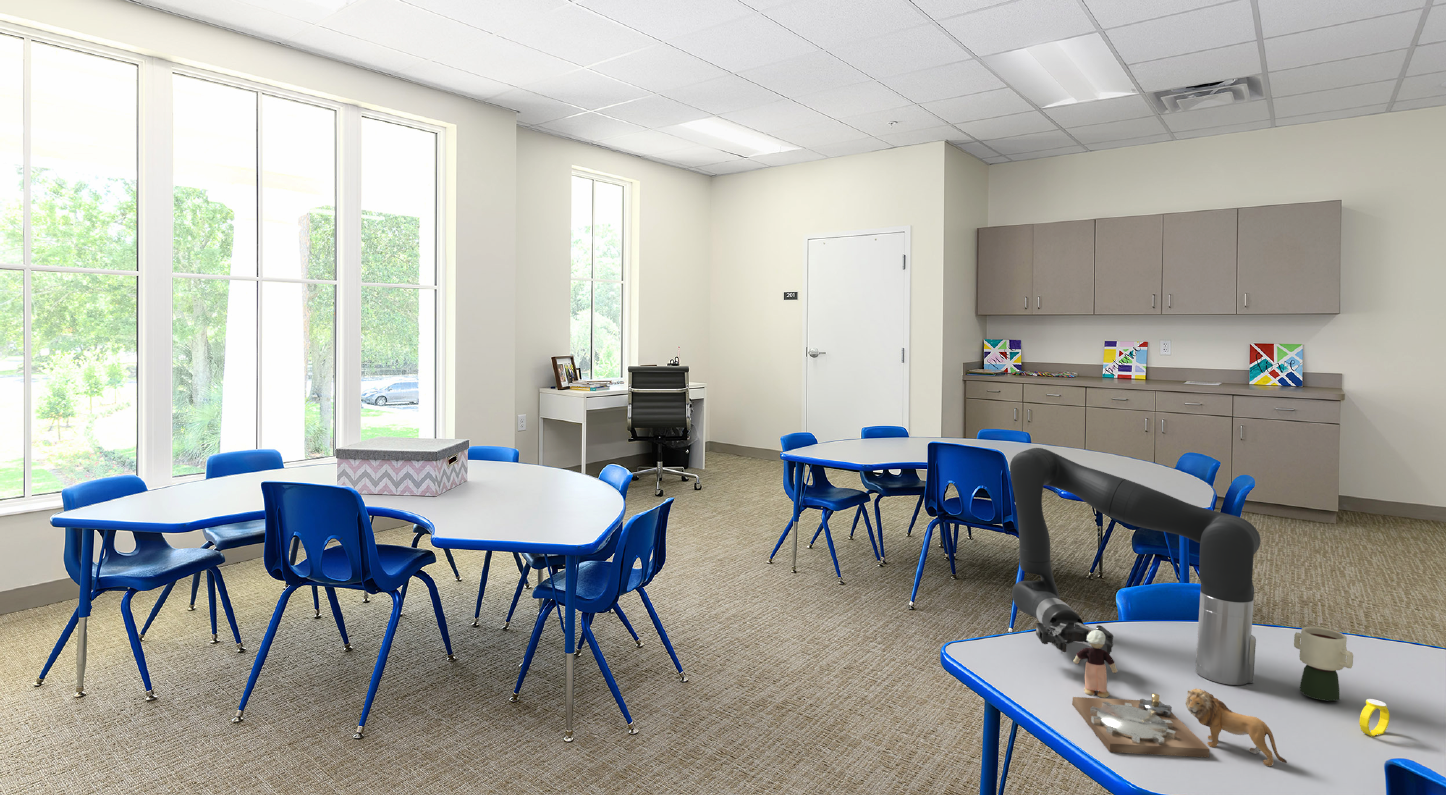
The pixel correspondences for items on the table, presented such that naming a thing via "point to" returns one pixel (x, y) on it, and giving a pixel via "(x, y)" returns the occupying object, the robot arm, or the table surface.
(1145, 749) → the gear board
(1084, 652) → the grandmother figurine
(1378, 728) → the watch
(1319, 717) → the table surface
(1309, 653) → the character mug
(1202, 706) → the lion figurine
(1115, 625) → the table surface
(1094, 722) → the gear
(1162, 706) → the gear
